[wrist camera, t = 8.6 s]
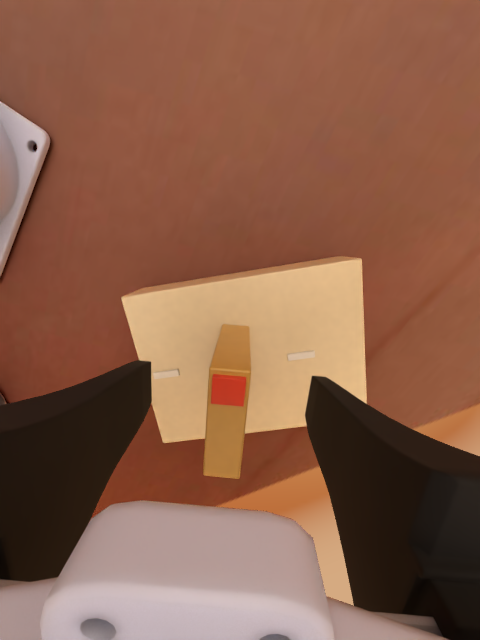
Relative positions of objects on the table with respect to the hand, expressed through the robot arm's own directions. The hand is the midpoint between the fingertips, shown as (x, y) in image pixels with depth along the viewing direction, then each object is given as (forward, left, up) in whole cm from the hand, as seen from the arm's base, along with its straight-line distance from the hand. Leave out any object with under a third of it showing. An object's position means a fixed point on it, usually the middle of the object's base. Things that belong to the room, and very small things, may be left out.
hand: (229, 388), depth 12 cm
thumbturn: (0, 0, -2) cm, 2 cm away
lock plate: (+1, -1, -6) cm, 6 cm away
